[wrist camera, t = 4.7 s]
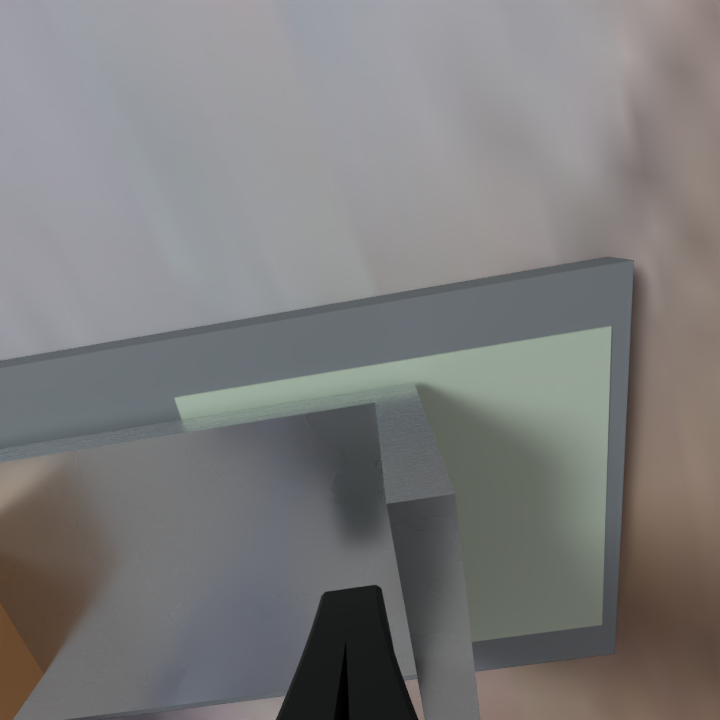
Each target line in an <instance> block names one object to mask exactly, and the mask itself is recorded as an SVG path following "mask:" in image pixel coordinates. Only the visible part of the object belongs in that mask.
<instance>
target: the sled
mask: <svg viewBox="0 0 720 720" xmlns="http://www.w3.org/2000/svg"><path fill="white" fill-rule="evenodd" d="M370 585H377V586H379V587H381V588H382V593H383V598H384V603H385V608H386V613H387V617H388V622H389V627H390V632H391V637H392V642H393V647H394V652H395V655H396V659H397V662H398V665H399V668H400V671H401V674H402V676H408V675H416V674H417V678H418V683H419V689H420V694H421V700H422V705H423V711H424V717H425V720H480V712H479V703H478V694H477V685H476V677H475V668H474V659H473V650H472V641H471V632H470V623H469V614H468V605H467V596H466V587H465V578H464V570H463V561H462V552H461V543H460V534H459V525H458V516H457V507H456V498H455V492H454V490H453V487H452V484H451V482H450V479H449V476H448V473H447V471H446V468H445V465H444V462H443V460H442V457H441V454H440V452H439V449H438V446H437V443H436V441H435V438H434V435H433V433H432V430H431V427H430V424H429V422H428V419H427V416H426V414H425V411H424V408H423V405H422V403H421V400H420V397H419V395H418V392H417V389H416V386H415V384H414V382H413V383H407V384H401V385H394V386H388V387H382V388H376V389H370V390H363V391H357V392H351V393H345V394H338V395H332V396H326V397H320V398H314V399H307V400H301V401H295V402H289V403H283V404H276V405H270V406H264V407H258V408H252V409H245V410H239V411H233V412H227V413H220V414H214V415H208V416H202V417H196V418H189V419H183V420H177V421H171V422H165V423H158V424H152V425H146V426H140V427H134V428H127V429H121V430H115V431H109V432H102V433H96V434H90V435H84V436H78V437H71V438H65V439H59V440H53V441H47V442H40V443H34V444H28V445H22V446H16V447H9V448H3V449H0V603H1V605H2V606H3V608H4V610H5V611H6V613H7V615H8V616H9V618H10V620H11V621H12V623H13V625H14V626H15V628H16V629H17V631H18V633H19V634H20V636H21V638H22V639H23V641H24V643H25V644H26V646H27V648H28V649H29V651H30V652H31V654H32V656H33V657H34V659H35V661H36V662H37V664H38V666H39V667H40V669H41V670H42V672H43V674H44V675H43V677H42V678H41V680H40V681H39V683H38V684H37V686H36V687H35V688H34V690H33V691H32V693H31V694H30V696H29V697H28V699H27V700H26V701H25V703H24V704H23V706H22V707H21V709H20V710H19V712H18V713H17V714H16V716H15V717H14V719H13V720H65V719H73V718H81V717H88V716H96V715H104V714H112V713H120V712H127V711H135V710H143V709H151V708H158V707H166V706H174V705H182V704H190V703H197V702H205V701H213V700H221V699H229V698H236V697H244V696H252V695H260V694H268V693H275V692H283V691H288V689H289V687H290V684H291V682H292V679H293V677H294V674H295V672H296V669H297V667H298V664H299V662H300V659H301V656H302V653H303V651H304V648H305V645H306V642H307V640H308V637H309V634H310V631H311V628H312V625H313V622H314V619H315V616H316V612H317V609H318V606H319V602H320V599H321V596H322V595H323V594H324V593H325V592H327V591H334V590H341V589H348V588H355V587H362V586H370Z"/></svg>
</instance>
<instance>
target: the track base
mask: <svg viewBox="0 0 720 720" xmlns="http://www.w3.org/2000/svg"><path fill="white" fill-rule="evenodd" d="M633 270H634V260H629V259H621V258H613V257H605V258H599V259H593V260H587V261H581V262H575V263H570V264H564V265H558V266H552V267H546V268H540V269H534V270H529V271H523V272H517V273H511V274H505V275H499V276H494V277H488V278H482V279H476V280H470V281H464V282H459V283H453V284H447V285H441V286H435V287H429V288H424V289H418V290H412V291H406V292H400V293H394V294H389V295H383V296H377V297H371V298H365V299H359V300H354V301H348V302H342V303H336V304H330V305H324V306H318V307H313V308H307V309H301V310H295V311H289V312H283V313H278V314H272V315H266V316H260V317H254V318H248V319H243V320H237V321H231V322H225V323H219V324H213V325H208V326H202V327H196V328H190V329H184V330H178V331H173V332H167V333H161V334H155V335H149V336H143V337H138V338H132V339H126V340H120V341H114V342H108V343H102V344H97V345H91V346H85V347H79V348H73V349H67V350H62V351H56V352H50V353H44V354H38V355H32V356H27V357H21V358H15V359H9V360H3V361H0V449H3V448H9V447H16V446H22V445H28V444H34V443H40V442H47V441H53V440H59V439H65V438H71V437H78V436H84V435H90V434H96V433H102V432H109V431H115V430H121V429H127V428H134V427H140V426H146V425H152V424H158V423H165V422H171V421H177V420H183V419H189V418H196V417H202V416H208V415H214V414H220V413H227V412H233V411H239V410H245V409H252V408H258V407H264V406H270V405H276V404H283V403H289V402H295V401H301V400H307V399H314V398H320V397H326V396H332V395H338V394H345V393H351V392H357V391H363V390H370V389H376V388H382V387H388V386H394V385H401V384H407V383H413V382H414V384H415V386H416V389H417V392H418V395H419V397H420V400H421V403H422V405H423V408H424V411H425V414H426V416H427V419H428V422H429V424H430V427H431V430H432V433H433V435H434V438H435V441H436V443H437V446H438V449H439V452H440V454H441V457H442V460H443V462H444V465H445V468H446V471H447V473H448V476H449V479H450V482H451V484H452V487H453V490H454V492H455V498H456V507H457V516H458V525H459V534H460V543H461V552H462V561H463V570H464V578H465V587H466V596H467V605H468V614H469V623H470V632H471V641H472V650H473V659H474V668H475V672H476V671H484V670H491V669H499V668H507V667H515V666H523V665H530V664H538V663H546V662H554V661H562V660H570V659H577V658H585V657H593V656H601V655H609V654H615V645H616V624H617V604H618V583H619V562H620V541H621V520H622V499H623V478H624V457H625V437H626V416H627V395H628V374H629V353H630V332H631V311H632V290H633ZM403 679H404V681H405V680H413V679H418V678H417V674H416V675H408V676H403ZM287 692H288V691H283V692H275V693H268V694H260V695H252V696H244V697H236V698H229V699H221V700H213V701H205V702H197V703H190V704H182V705H174V706H166V707H158V708H151V709H143V710H135V711H127V712H120V713H112V714H104V715H96V716H88V717H81V718H73V719H65V720H100V719H108V718H116V717H124V716H132V715H139V714H147V713H155V712H163V711H171V710H178V709H186V708H194V707H202V706H210V705H218V704H225V703H233V702H241V701H249V700H257V699H265V698H272V697H280V696H286V694H287Z"/></svg>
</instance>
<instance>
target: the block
mask: <svg viewBox="0 0 720 720" xmlns="http://www.w3.org/2000/svg"><path fill="white" fill-rule="evenodd" d="M43 675H44V674H43V672H42V670H41V669H40V667H39V666H38V664H37V662H36V661H35V659H34V657H33V656H32V654H31V652H30V651H29V649H28V648H27V646H26V644H25V643H24V641H23V639H22V638H21V636H20V634H19V633H18V631H17V629H16V628H15V626H14V625H13V623H12V621H11V620H10V618H9V616H8V615H7V613H6V611H5V610H4V608H3V606H2V605H1V603H0V720H13V719H14V717H15V716H16V714H17V713H18V712H19V710H20V709H21V707H22V706H23V704H24V703H25V701H26V700H27V699H28V697H29V696H30V694H31V693H32V691H33V690H34V688H35V687H36V686H37V684H38V683H39V681H40V680H41V678H42V677H43Z"/></svg>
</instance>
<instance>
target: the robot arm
mask: <svg viewBox="0 0 720 720" xmlns="http://www.w3.org/2000/svg"><path fill="white" fill-rule="evenodd" d="M276 720H418V718H417V715H416V713H415V710H414V707H413V705H412V702H411V699H410V697H409V694H408V691H407V688H406V685H405V682H404V679H403V676H402V674H401V671H400V668H399V665H398V662H397V659H396V655H395V652H394V647H393V642H392V637H391V632H390V627H389V622H388V617H387V613H386V608H385V603H384V598H383V593H382V588H381V587H379V586H377V585H370V586H362V587H355V588H348V589H341V590H334V591H327V592H325V593H324V594H323V595H322V596H321V599H320V602H319V606H318V609H317V612H316V616H315V619H314V622H313V625H312V628H311V631H310V634H309V637H308V640H307V642H306V645H305V648H304V651H303V653H302V656H301V659H300V662H299V664H298V667H297V669H296V672H295V674H294V677H293V679H292V682H291V684H290V687H289V689H288V692H287V694H286V697H285V699H284V702H283V704H282V707H281V709H280V711H279V714H278V716H277V718H276Z"/></svg>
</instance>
